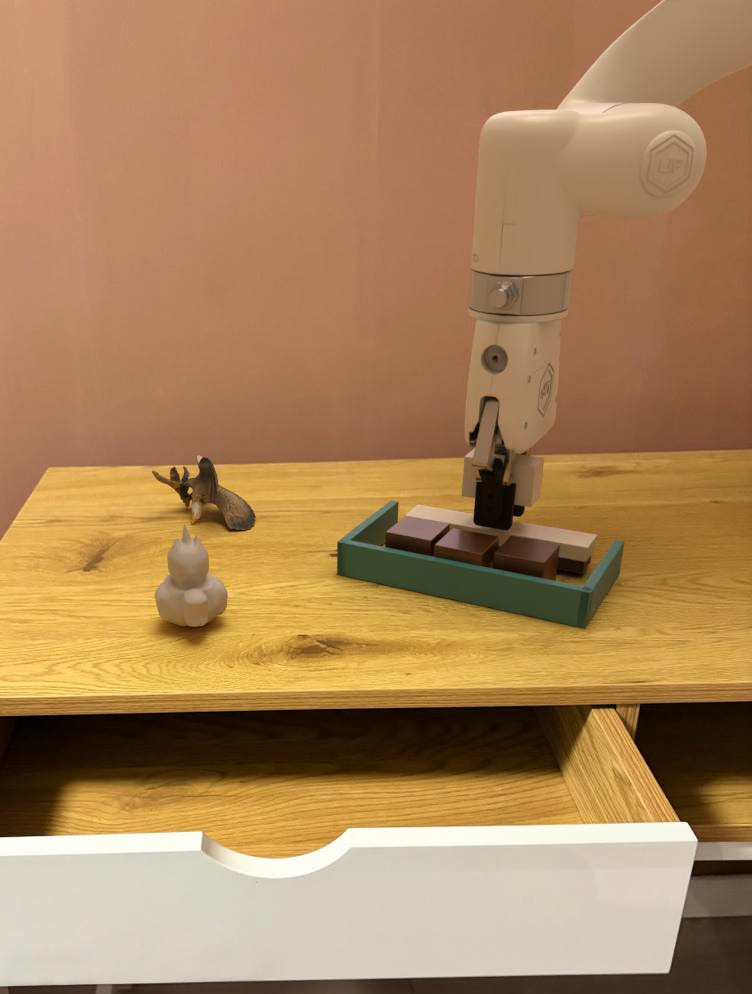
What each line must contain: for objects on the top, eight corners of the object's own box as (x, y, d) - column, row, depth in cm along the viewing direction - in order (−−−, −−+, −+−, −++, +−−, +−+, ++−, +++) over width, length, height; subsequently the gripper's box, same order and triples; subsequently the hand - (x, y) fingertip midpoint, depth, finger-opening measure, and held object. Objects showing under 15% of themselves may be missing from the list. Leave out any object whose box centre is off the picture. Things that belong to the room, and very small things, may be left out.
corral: (619, 574, 81) (625, 540, 79) (585, 628, 73) (590, 592, 71) (389, 530, 90) (390, 500, 89) (336, 574, 82) (337, 541, 81)
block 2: (495, 581, 80) (499, 536, 78) (478, 600, 77) (482, 554, 75) (449, 571, 82) (452, 527, 80) (431, 590, 79) (434, 544, 77)
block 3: (554, 590, 78) (560, 544, 76) (539, 609, 75) (544, 562, 73) (506, 580, 80) (511, 535, 78) (489, 599, 77) (494, 553, 75)
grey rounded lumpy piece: (220, 602, 78) (215, 508, 74) (236, 640, 72) (231, 541, 68) (153, 610, 77) (144, 515, 73) (163, 650, 71) (154, 549, 67)
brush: (593, 562, 82) (607, 465, 78) (584, 575, 80) (598, 476, 75) (416, 529, 89) (420, 439, 85) (403, 541, 87) (407, 449, 83)
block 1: (446, 567, 83) (449, 523, 81) (428, 585, 80) (431, 540, 78) (403, 558, 84) (405, 515, 83) (384, 576, 81) (385, 531, 80)
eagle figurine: (141, 512, 92) (207, 516, 87) (158, 440, 93) (225, 439, 87) (196, 533, 98) (262, 538, 92) (212, 465, 99) (278, 466, 93)
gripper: (536, 317, 66) (511, 563, 75) (595, 280, 78) (568, 496, 87) (432, 309, 70) (421, 546, 79) (505, 276, 82) (487, 484, 91)
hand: (498, 518), depth 83 cm, fingers closed on brush, 2 cm apart
